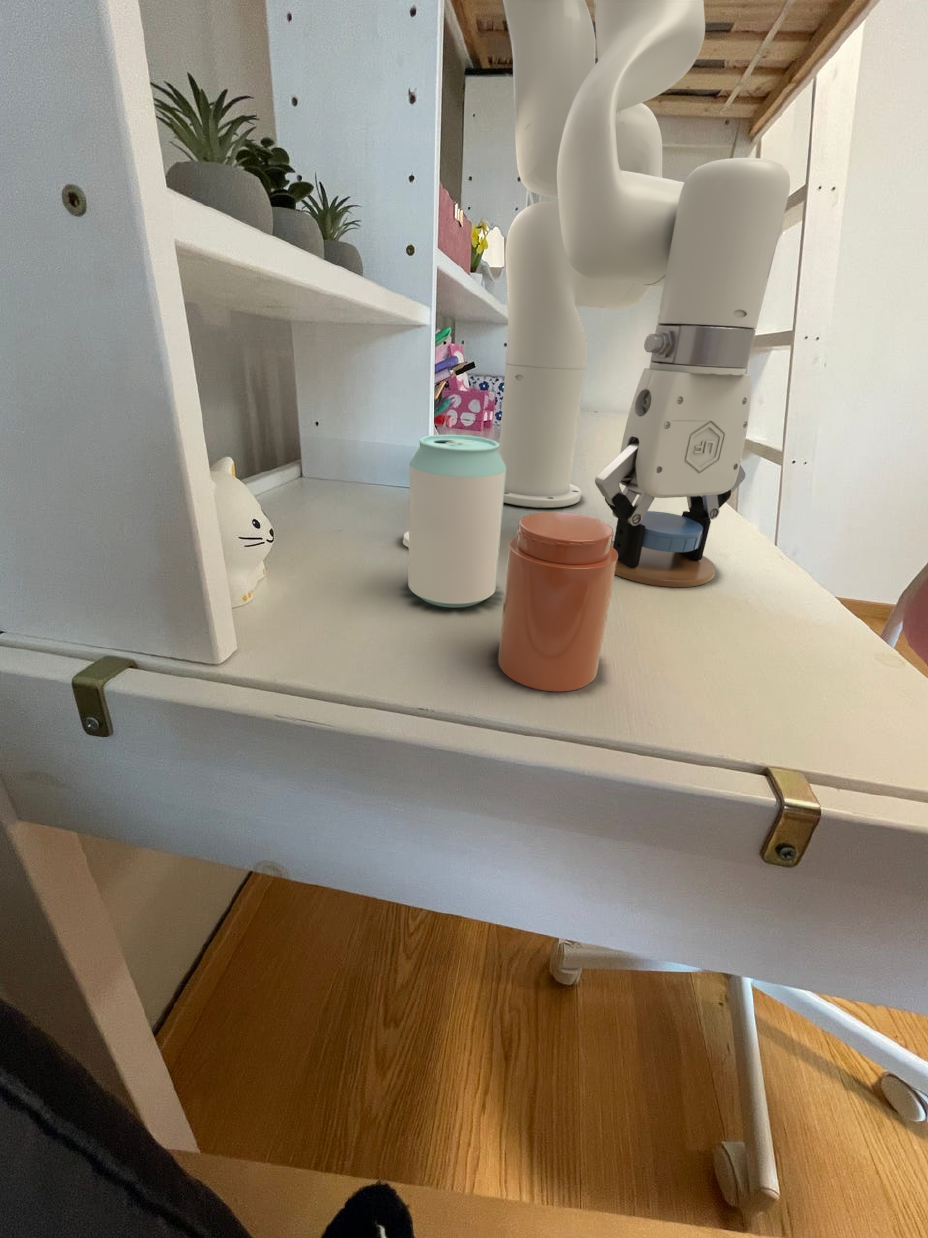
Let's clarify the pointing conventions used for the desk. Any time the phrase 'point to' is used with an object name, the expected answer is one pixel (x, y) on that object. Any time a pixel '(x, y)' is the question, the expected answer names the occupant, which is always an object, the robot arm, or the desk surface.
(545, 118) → the robot arm
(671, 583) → the coaster
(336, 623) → the desk surface
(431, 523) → the can
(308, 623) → the desk surface
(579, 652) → the jar
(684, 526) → the lid
